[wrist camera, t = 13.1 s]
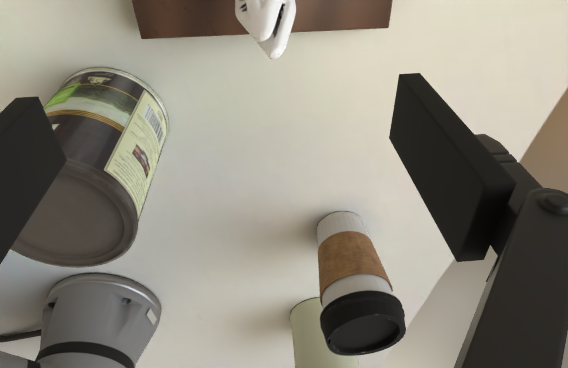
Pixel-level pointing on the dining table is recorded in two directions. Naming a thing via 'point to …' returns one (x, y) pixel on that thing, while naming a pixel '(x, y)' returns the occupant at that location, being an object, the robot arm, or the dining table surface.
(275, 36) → the shaker set
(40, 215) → the coffee can
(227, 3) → the board
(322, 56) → the dining table surface
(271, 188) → the dining table surface
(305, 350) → the can
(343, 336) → the coffee cup
